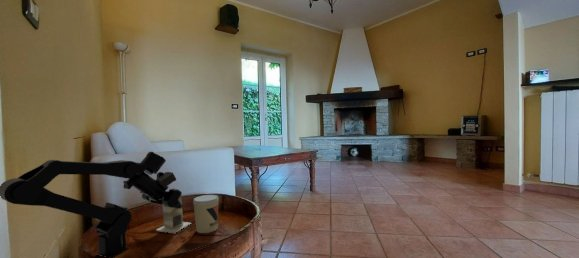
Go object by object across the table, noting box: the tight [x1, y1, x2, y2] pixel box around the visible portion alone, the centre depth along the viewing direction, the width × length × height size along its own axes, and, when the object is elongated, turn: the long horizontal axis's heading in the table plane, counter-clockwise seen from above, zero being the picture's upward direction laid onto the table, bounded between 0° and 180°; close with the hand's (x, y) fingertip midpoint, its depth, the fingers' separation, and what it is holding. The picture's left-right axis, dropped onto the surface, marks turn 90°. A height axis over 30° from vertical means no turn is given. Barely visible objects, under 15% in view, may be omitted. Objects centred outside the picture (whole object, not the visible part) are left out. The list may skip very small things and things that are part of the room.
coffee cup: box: [192, 194, 220, 234], centre depth 96 cm, size 9×9×12 cm
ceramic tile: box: [155, 221, 192, 234], centre depth 99 cm, size 9×9×1 cm
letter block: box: [162, 195, 184, 230], centre depth 99 cm, size 5×5×13 cm
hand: (176, 206), depth 100 cm, fingers open, 6 cm apart
